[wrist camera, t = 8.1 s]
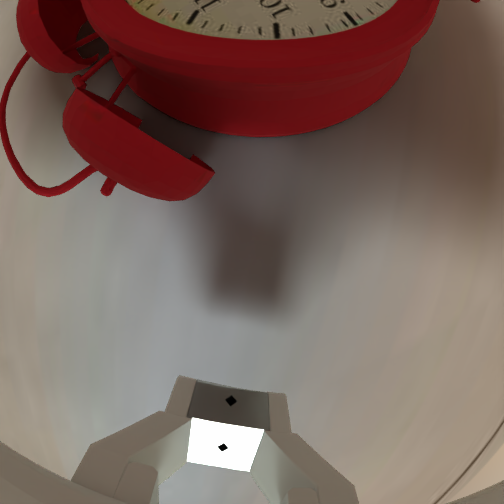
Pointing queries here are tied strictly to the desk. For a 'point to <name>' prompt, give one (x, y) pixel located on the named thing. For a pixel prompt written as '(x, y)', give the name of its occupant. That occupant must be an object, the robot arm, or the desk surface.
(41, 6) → the alarm clock
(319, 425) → the desk surface
